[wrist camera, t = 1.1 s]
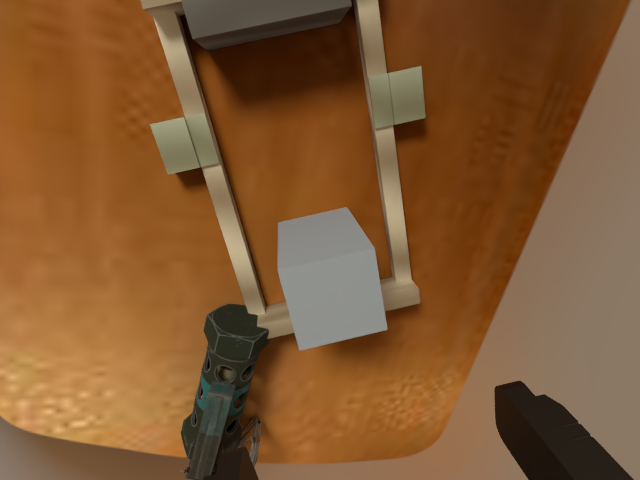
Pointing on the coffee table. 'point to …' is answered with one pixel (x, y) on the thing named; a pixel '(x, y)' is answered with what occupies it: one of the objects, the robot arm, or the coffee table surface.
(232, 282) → the coffee table surface
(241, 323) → the stun grenade
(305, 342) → the grey rectangular block
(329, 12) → the beam frame
